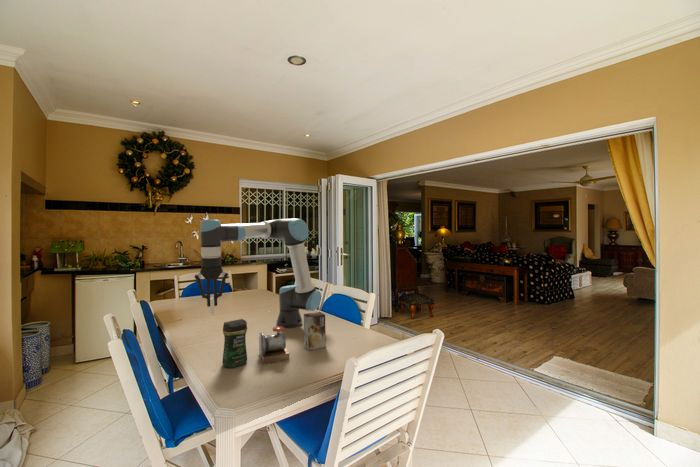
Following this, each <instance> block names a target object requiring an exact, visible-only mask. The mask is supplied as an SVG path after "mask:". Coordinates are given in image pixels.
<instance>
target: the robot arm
mask: <svg viewBox="0 0 700 467" xmlns="http://www.w3.org/2000/svg"><path fill="white" fill-rule="evenodd" d="M199 236H200V256H201V258H200V261H201V262H200V263H201V264H200V266H201V269H200V271H199V272H198V273H197V274H195V275H194V278H195V280H196V281H197V285H198V288H199V290H200V294H201V297H202V299H206V305H207V307H208V308H209V307H210V308H209V310H210V312H209V313H210V316H214V315H215V307H217V306H218V298H220V297H222V295H223V292H224V288H225V284H226V279H227V278H228V276H229V274H228V272H226V271H224V269H223V268H222V258H221V256H222V243H223V242H224V243H226V242H227V243H228V242H230V243H231V242H240V241H241V242H242V241H243V240H244V239H252V238H253V239H254V238H255V239H256V238H262V239H265V240H267V239H271V240H279V241H280V240H281V241H284V246H285V247H287V248H288V252H289V256H290V262H291V266H292V271H293V275H294V279H295V284H292V285H286V286H285V285H284V286H281V287H280V288H279V294H278V297H279V298H278V299H279V301H278V302H279V312H278V316H277V318H276V327H277V326H282V327H284V329H286V328H287V329H290V328H297V327H300V326H301V325H303V318H302V315H301V312H300V310H303V311H305V310H306V311H307V312H308V311H310V312H311V311H312V312H313V311H315V310H317V309H318V308H319V307H320V305H321V301H322V294H321V292H320V290H316V285H315V284H314V283H313V282H312V277H311V273H310V269H309V268H310V267H309V263H308V260H307V259H308V258H307V254H306V249H305V243H306V242H307V240H306V239H307V238H308V236H309V227H308V224H307V223H306V222H305V220H303V219H301V218H295V217H294V218H278V219H271V220H263V221H260V222H249V223H221V220H220V219H202V220H201V221H200V230H199ZM220 276H221V277H222V278H221V282H220V286H219V290H218V279H219V278H220ZM202 277H203V278H204V279H205V280H206V292H205V290H204V286H203V282H202ZM212 280H213V297H211V281H212Z"/></svg>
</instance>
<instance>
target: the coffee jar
mask: <svg viewBox="0 0 700 467" xmlns="http://www.w3.org/2000/svg"><path fill="white" fill-rule="evenodd" d="M247 325H248V323H247V321H246V320H245V319H244V318H239V319H235V320H229V321H224V322H223V327H222V333H223V336H224V342H223V343H224V344H223V352H222V365H223V366H224V367H225V368H229V369H230V368H235V367H239V366H243V365H245V364H246V363H247V362H248V354H247V353H248V352H247V344H246V343H247V342H246V336H247V335H246V334H247V332H248V326H247Z"/></svg>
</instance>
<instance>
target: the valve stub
mask: <svg viewBox="0 0 700 467" xmlns="http://www.w3.org/2000/svg"><path fill="white" fill-rule="evenodd" d="M284 330H285V328H284V327H282V326H277V325H276V326H274V327H272V332H275V333H276V334H268V335H265V333H264V332H260V333H259V336H258V354H259V357H260V359H261V362H262V364H263V365H269V364H273V363H274V364H275V363H280V362H286V361H287V362H288V361H290V352H289V350H288V349H287V347H286V345H287V343H286V342H287V340H286V335H285V333H284V332H283V331H284ZM281 332H282V333H281Z"/></svg>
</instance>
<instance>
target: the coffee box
mask: <svg viewBox="0 0 700 467" xmlns="http://www.w3.org/2000/svg"><path fill="white" fill-rule="evenodd" d="M326 334H327V333H326V314H325V313H323V312H321V311H316V312H310V313H304V314H303V347H304V348H306V349H307V351H312V350H317V349H318V350H319V349H322V348H326V347H327V343H326V339H327V338H326V337H327V336H326Z"/></svg>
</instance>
